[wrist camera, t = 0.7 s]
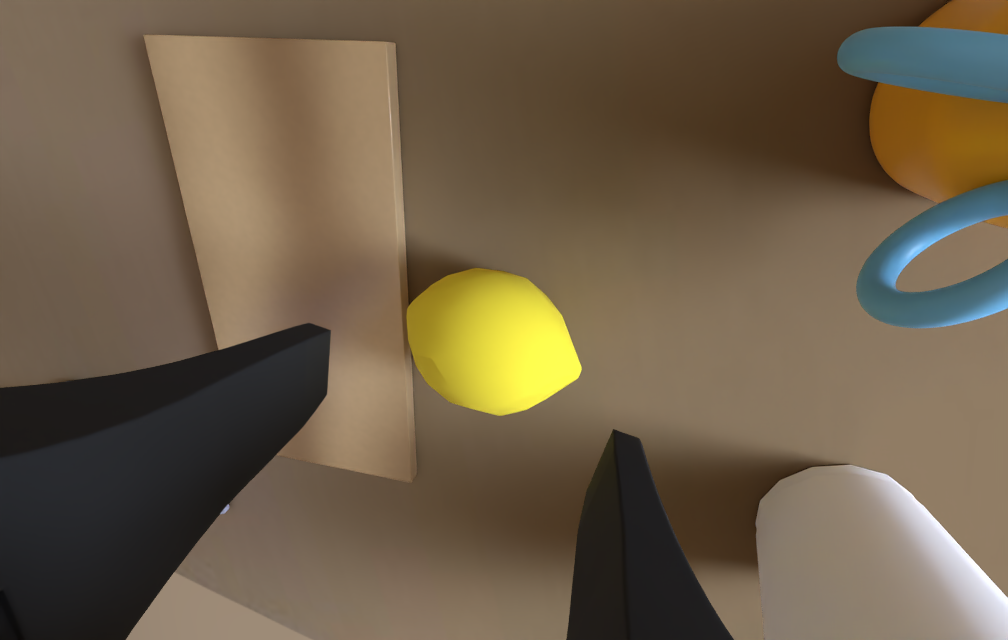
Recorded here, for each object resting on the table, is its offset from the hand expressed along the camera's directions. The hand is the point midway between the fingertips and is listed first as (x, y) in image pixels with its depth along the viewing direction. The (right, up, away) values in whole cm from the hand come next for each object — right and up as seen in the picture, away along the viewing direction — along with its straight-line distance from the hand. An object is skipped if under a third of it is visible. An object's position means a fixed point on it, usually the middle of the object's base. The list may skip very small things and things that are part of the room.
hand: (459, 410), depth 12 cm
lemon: (+1, +3, +10) cm, 10 cm away
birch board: (-8, +4, +11) cm, 14 cm away
